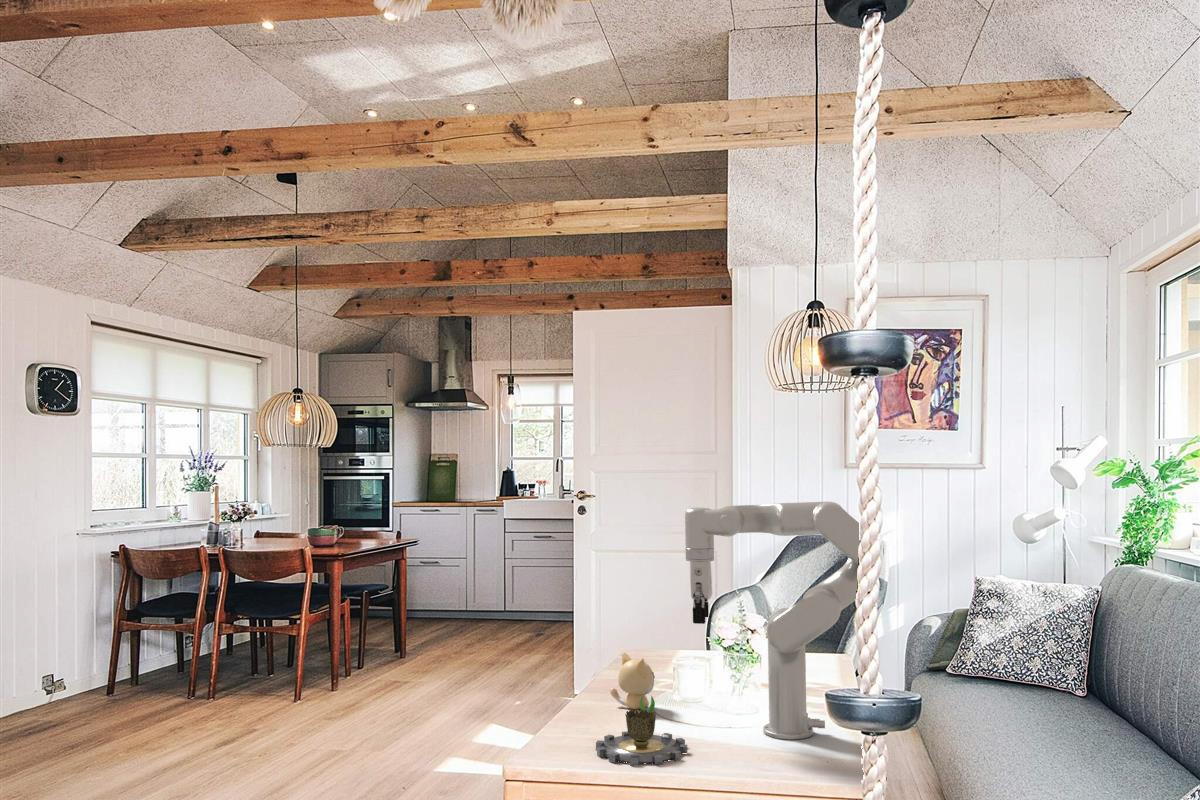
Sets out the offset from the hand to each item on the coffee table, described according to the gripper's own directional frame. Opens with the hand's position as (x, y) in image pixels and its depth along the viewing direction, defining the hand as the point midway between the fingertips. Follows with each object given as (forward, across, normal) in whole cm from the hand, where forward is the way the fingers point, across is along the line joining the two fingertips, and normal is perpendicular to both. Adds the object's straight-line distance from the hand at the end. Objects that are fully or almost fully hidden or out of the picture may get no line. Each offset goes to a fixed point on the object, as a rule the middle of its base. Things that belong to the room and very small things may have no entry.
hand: (700, 620), depth 257 cm
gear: (+28, -21, +13) cm, 38 cm away
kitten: (+29, +18, +20) cm, 39 cm away
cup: (+27, -22, +13) cm, 37 cm away
